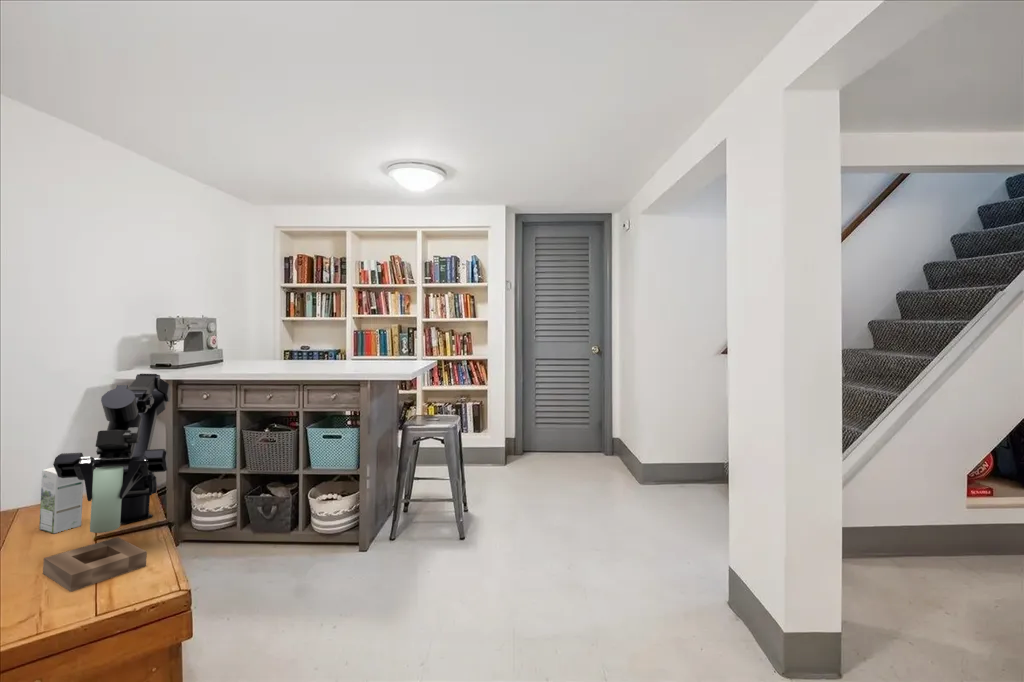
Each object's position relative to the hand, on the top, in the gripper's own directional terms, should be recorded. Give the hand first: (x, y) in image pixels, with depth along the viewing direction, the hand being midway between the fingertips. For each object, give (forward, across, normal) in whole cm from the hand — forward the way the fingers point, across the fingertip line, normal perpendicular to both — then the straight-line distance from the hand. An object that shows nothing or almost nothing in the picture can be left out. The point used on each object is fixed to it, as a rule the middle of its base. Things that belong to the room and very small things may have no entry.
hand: (105, 499), depth 98 cm
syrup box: (-8, -13, +27) cm, 31 cm away
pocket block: (+12, 0, +7) cm, 14 cm away
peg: (+4, 0, +6) cm, 7 cm away
